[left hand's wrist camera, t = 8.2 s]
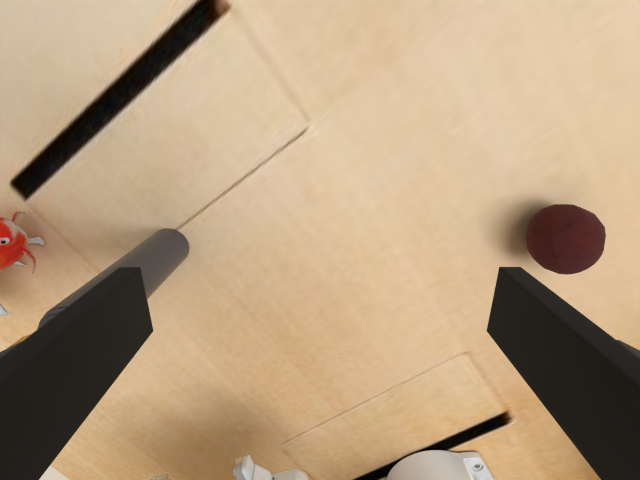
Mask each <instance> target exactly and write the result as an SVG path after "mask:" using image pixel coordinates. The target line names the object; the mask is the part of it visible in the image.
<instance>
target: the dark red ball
mask: <svg viewBox="0 0 640 480" xmlns="http://www.w3.org/2000/svg"><path fill="white" fill-rule="evenodd" d="M605 237H606V234H605V227H604V226H603V224H602V223H601V222H600V220H599V219H598V218H597V217H596V215H595V214H593V213H591V212H589V211H587V210H585V209H582V208H580V207H577V206H575V205H567V204H562V205H552V206H549V207H546V208H544V209H542V210H541V211H539V212H538V213H537V214H536V215H535V216H534V217H533V219H532V221H531V222H530V225H529V228H528V232H527V236H526V240H527V248H528V251H529V252H530V254H531V256H532V257H533V259H534V260H535V261H536V262H537V263H539V264H540V265H541V266H542V267H543V268H545V269H548V270H550V271H553V272H556V273H558V274H574V273H578V272H581V271H584V270H586V269H588V268H589V267H591V266H592V265H594V264H595V263H596V262H597V261H598V259H599V258H600V257H601V255H602V253H603V250H604V244H605Z"/></svg>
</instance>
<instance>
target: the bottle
mask: <svg viewBox="0 0 640 480" xmlns="http://www.w3.org/2000/svg"><path fill="white" fill-rule="evenodd" d="M188 253H189V244H188V242H187V240H186V238H185V237H184V236H183V235H182V234H181V233H180V232H178V231H176V230H173V229H162V230H160V231H158V232H157V233H155V234H154V235H152V236H151V237H150V238H148V239H147V240H146V241H144V242H143V243H141V244H140V245H139V246H137V247H136V248H134V249H133V250H132V251H130V252H129V253H128V254H126V255H125V256H123V257H122V258H121V259H119V260H118V261H117V262H115V263H114V264H112V265H111V266H110V267H108V268H107V269H105V270H104V271H103V272H101V273H100V274H99V275H97V276H96V277H94V278H93V279H92V280H90V281H89V282H88V283H86V284H85V285H83V286H82V287H81V288H79V289H78V290H76V291H75V292H74V293H72V294H71V295H70V296H68V297H67V298H65V299H64V300H63V301H61V302H60V303H59V304H57V305H56V306H54V307H53V308H52V309H50V310H49V311H48V312H47V313H46V314H45V315H44V317H43V318H42V319H41V321H40V323H39V326H38V329H39V328H40V327H42V326H43V325H44V324H46V323H47V322H48V321H50V320H51V319H52V318H54V317H55V316H56V315H57V314H59V313H60V312H61V311H63V310H64V309H65V308H67V307H68V306H69V305H71V304H72V303H73V302H75V301H76V300H77V299H78V298H80V297H81V296H82V295H84V294H85V293H86V292H88V291H89V290H90V289H92V288H93V287H94V286H95V285H97V284H98V283H99V282H101V281H102V280H103V279H105V278H106V277H107V276H109V275H110V274H111V273H113V272H114V271H115V270H116V269H118V268H119V267H141V272H142V277H143V282H144V287H145V292H146V297H147V299H148V298H149V297H150V296H151V295H152V293H153V292H154V291H155V290H156V289H157V288H158V287H159V286H160V285H161V284H162V283H163V282H164V281H165V280H166V278H167V277H168V276H169V275H170V274H171V273H172V272H173V271H174V270H175V269H176V268H177V267H178V266H179V265H180V263H181V262H182V261H183V260H184V259H185V258H186V257H187V255H188ZM38 329H37V330H38Z"/></svg>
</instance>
